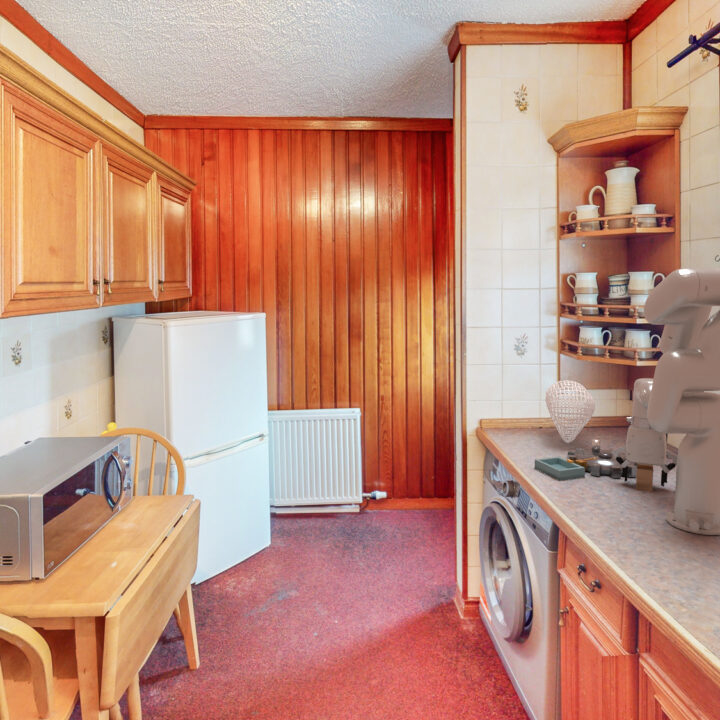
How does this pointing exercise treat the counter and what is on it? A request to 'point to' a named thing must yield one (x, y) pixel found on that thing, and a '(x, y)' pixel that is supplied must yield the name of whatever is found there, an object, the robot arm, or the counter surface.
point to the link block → (644, 477)
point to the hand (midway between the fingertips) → (643, 482)
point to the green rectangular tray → (560, 468)
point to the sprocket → (600, 461)
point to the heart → (586, 412)
